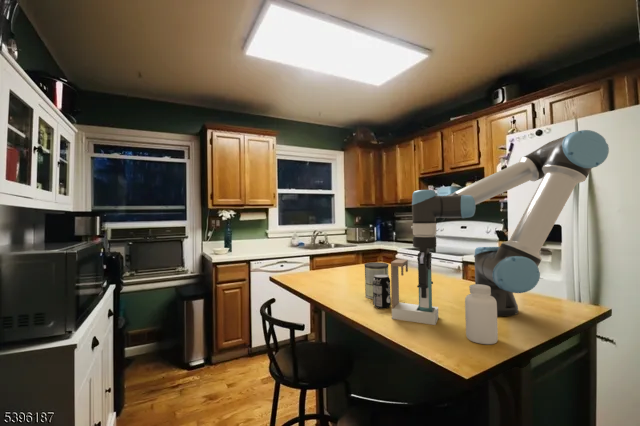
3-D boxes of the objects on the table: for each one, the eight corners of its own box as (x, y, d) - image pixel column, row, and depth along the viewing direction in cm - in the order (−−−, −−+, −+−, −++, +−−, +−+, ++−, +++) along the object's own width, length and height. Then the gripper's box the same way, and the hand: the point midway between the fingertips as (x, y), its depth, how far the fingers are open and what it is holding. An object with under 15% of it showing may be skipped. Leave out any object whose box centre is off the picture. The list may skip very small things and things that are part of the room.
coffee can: (362, 294, 136) (361, 262, 136) (383, 292, 138) (383, 261, 138) (369, 300, 126) (369, 266, 126) (393, 298, 127) (392, 265, 127)
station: (438, 317, 104) (437, 261, 104) (435, 325, 97) (434, 265, 97) (397, 311, 110) (396, 259, 111) (391, 318, 103) (390, 262, 104)
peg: (433, 316, 103) (432, 269, 103) (431, 320, 99) (430, 271, 99) (420, 314, 105) (419, 268, 105) (418, 318, 101) (417, 270, 101)
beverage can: (389, 304, 120) (388, 273, 120) (391, 309, 114) (391, 277, 114) (372, 303, 121) (372, 273, 121) (374, 308, 114) (373, 277, 114)
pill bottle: (460, 334, 89) (459, 283, 89) (486, 333, 90) (485, 282, 90) (476, 346, 81) (475, 290, 81) (504, 344, 82) (503, 289, 82)
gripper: (417, 234, 112) (418, 297, 111) (407, 237, 96) (409, 311, 96) (439, 234, 108) (440, 299, 108) (432, 238, 93) (434, 314, 93)
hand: (425, 305), depth 102 cm, fingers closed on peg, 4 cm apart
